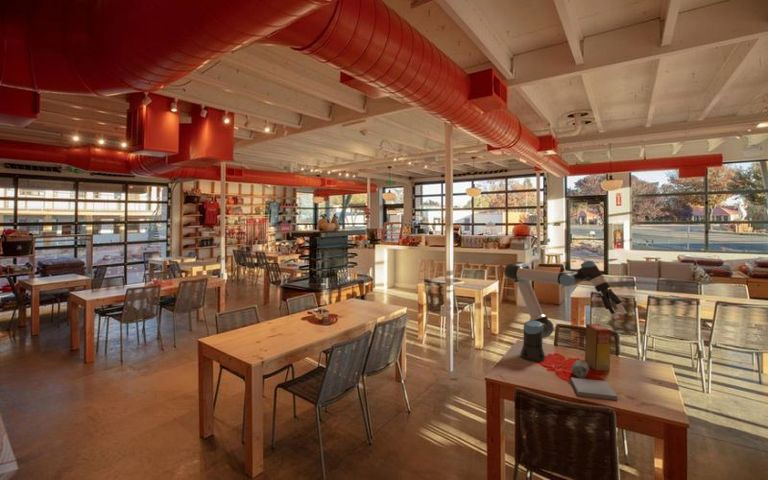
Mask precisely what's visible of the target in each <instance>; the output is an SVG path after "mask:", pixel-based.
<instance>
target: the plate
mask: <svg viewBox="0 0 768 480" xmlns="http://www.w3.org/2000/svg"><path fill="white" fill-rule="evenodd" d="M570 382H571V384H572V387H573V388H574V391H575V392H576V394H577V396H578V397H579V396H580V397H588V398H598V399H606V400H613V401H618V395H617V393H616V392H615V390H613V388H612V386H611V385H610V384H609V382H608V381H607V380H601V379H600V380H598V379H591V378H590V379H589V378H578V377H572V376H571V377H570Z"/></svg>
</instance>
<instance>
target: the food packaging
mask: <svg viewBox="0 0 768 480" xmlns="http://www.w3.org/2000/svg"><path fill="white" fill-rule="evenodd" d="M585 327H586V328H585V345H584V348H585V349H584V352H585V353H584V361H585V362H587V363H588V365H589V368H591V369H593V370H594V371H609V372H611V371H610V368H611V367H610V366H611V348H612V347H611V346H612V345H611V344H612V330H611V329H609V328H607V327H606V326H603V325H601V324H597V323H596V324H595V323H593V324H592V323H586V324H585Z"/></svg>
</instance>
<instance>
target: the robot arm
mask: <svg viewBox="0 0 768 480" xmlns="http://www.w3.org/2000/svg"><path fill="white" fill-rule="evenodd" d="M503 274H504V276H505V277H506V279H509V281H510V280H511V281H513V282H514V284H515V285H517V286H518V289H519V292H520V294H521V296H522V299H523V301H524V304H525V307H526V309H527V312H528V314H529V317H530V318H529V320H527V321H525V322H524V324H523V345H522V348H521V351H520V353H519V354H520V357H521V359H523V360H525V361H528V362H529V361H530V362H537V363H539V362H543V361H545V360H546V355H545V351H544V348H543V340H544V339H546V338H548V337H550V336H551V335H552V334H553V332H554V329H555V328H554V324H553V323H552V321H551V320H550V319H548V316H547V315H546V314H544V312H543V311H542V310H543V309H542V307H541V305H540V302H539V300H538V297H537V295H536V293H535V290H534V288H533V286H532V283H531V281H533V282H541V283H547V284H549V283H550V284H555V285H561V286H563V287H571V286H575V285H578V284H580V283H581V282H584V281H585V280H587V279H589V280H590V283H591V284H592V286H594V289H595V291H596V292H597V293H598V294H599V296H600V297H601V300H602V303H603V305H604V308H605V309H606V310H608V311H609V313H610V314H611V316H612V318H613V319H614V320H617V319H619V318H620V316H619V314H618V312H617V311H616V309H615V308H614V307H613V306H612V303H611V301H612V302H613V303H614V304H615V306H616V307H617V309H618V311H619V312H620V314H621V315H622V316H623V315H626V314H627V313H628V312H627V311H626V309H625V308H624V306H623V305H622V302H623V301H622V300H621V299H620V298H619V297H618V296H617V295H616V294H615V293H614V292H613V290H612V289H611V288H610V286H611V285H609V283H608V282H607V280H606V279H605V276H604V275H603V273H602V272H601V271H600V269H599V267H598V266H597V264H596V263H595V261H594V260H592V259H588V260H586V261H584V262H582V263H581V264H580V268H578V269H576V270H574V271H571V272H561V271H554V270H544V269H543V270H542V269H534V268H533V269H532V268H531V267H530V266H529V264H528V263H526V262H523V261H516V262H512V263H508V264H507V265H505V267H504V269H503Z"/></svg>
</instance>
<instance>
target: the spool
mask: <svg viewBox="0 0 768 480" xmlns="http://www.w3.org/2000/svg"><path fill="white" fill-rule="evenodd" d="M589 371H590V366H589V365H588V363H587V362H585V360H584V359H577V360H576V361H574V363H573V364H572V366H571V373H572V374H573V375H574V376H575V377H576V378H581V379H585V378H586V377H587V375H588V373H589Z"/></svg>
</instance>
